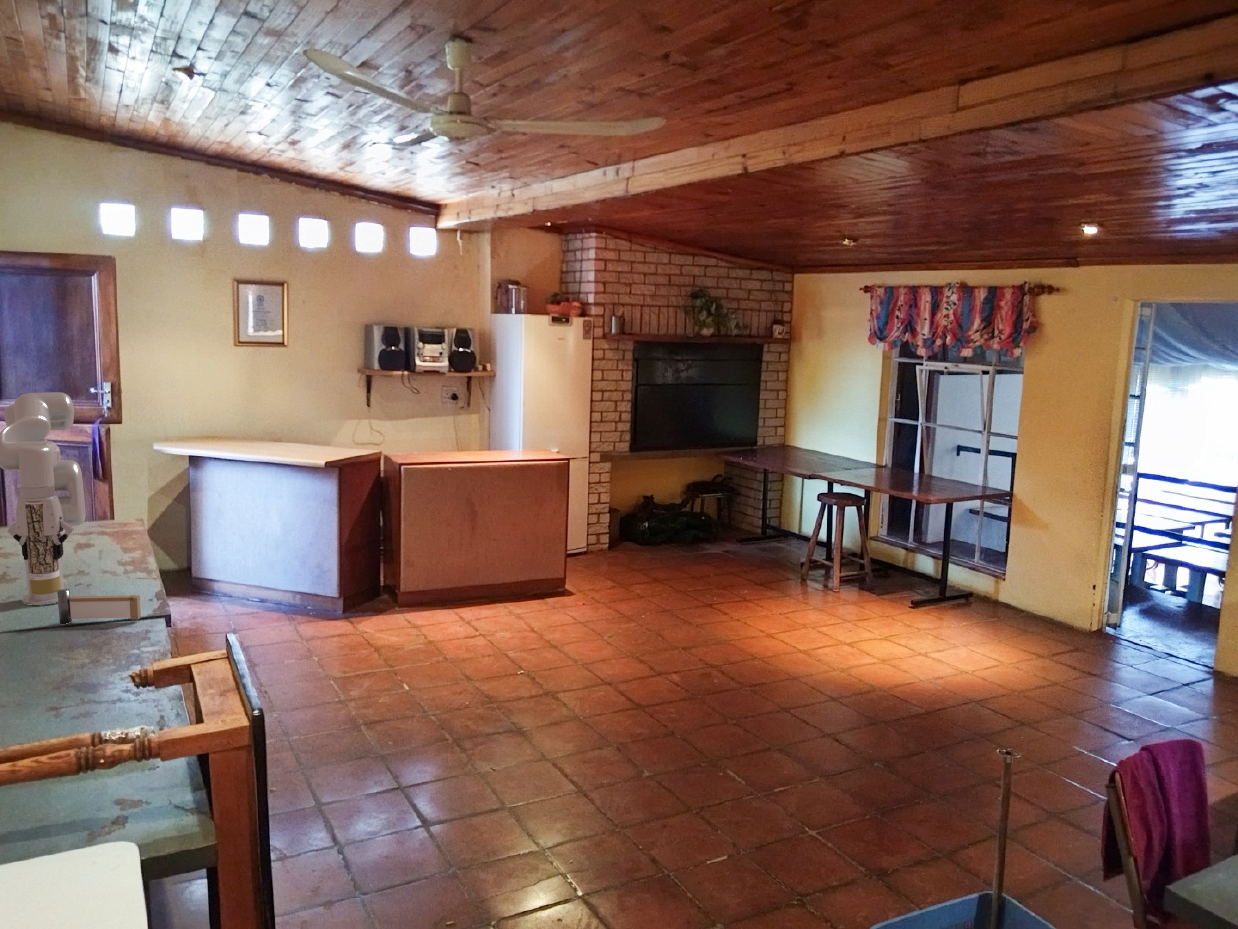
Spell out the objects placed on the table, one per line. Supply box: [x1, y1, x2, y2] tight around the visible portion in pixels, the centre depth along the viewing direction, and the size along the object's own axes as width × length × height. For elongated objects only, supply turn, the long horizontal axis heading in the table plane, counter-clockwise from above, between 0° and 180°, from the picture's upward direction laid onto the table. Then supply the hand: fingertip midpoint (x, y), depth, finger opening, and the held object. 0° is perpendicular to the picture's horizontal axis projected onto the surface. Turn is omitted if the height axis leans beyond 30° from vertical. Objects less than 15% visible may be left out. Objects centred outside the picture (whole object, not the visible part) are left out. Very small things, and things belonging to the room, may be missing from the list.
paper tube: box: [25, 502, 60, 595], centre depth 245 cm, size 7×7×25 cm
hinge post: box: [57, 588, 73, 625], centre depth 262 cm, size 3×3×10 cm
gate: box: [69, 594, 142, 621], centre depth 263 cm, size 2×18×6 cm, turn 97°
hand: (43, 558), depth 246 cm, fingers closed on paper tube, 6 cm apart
